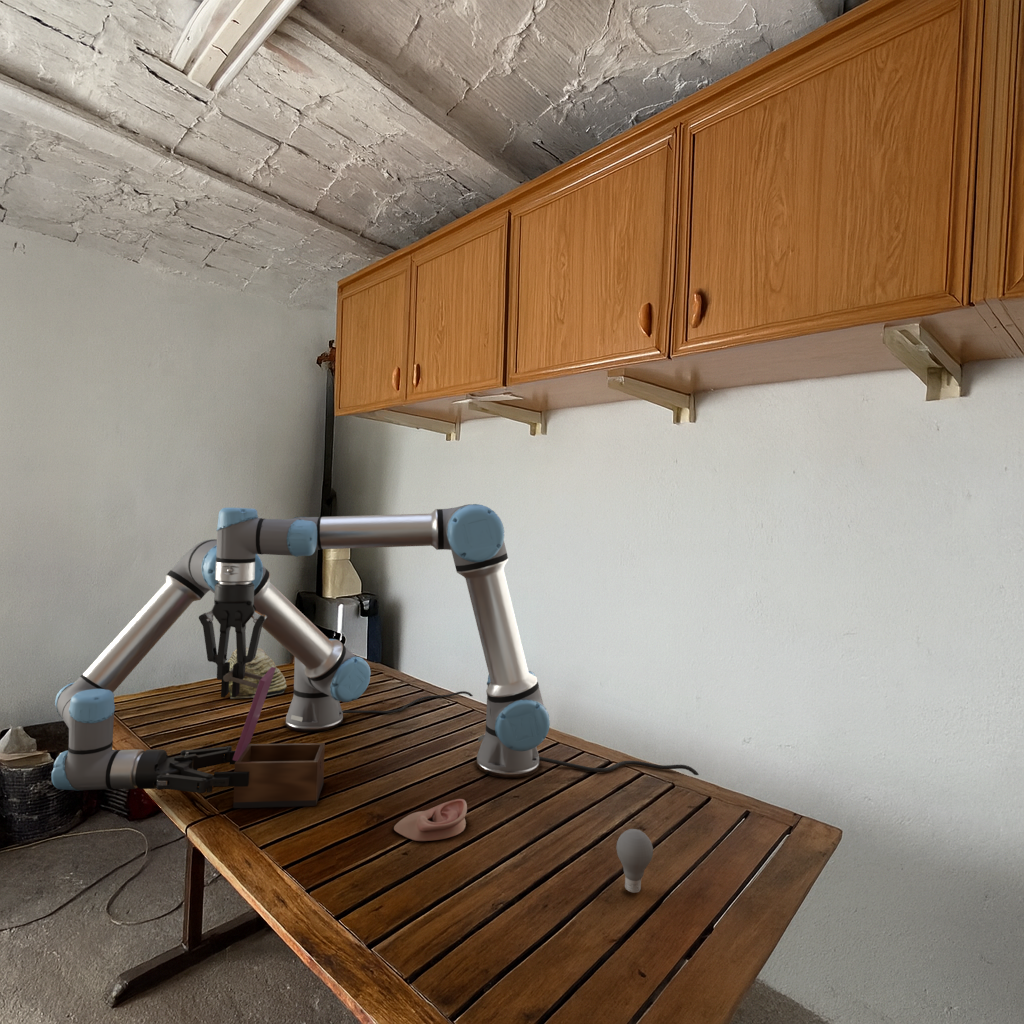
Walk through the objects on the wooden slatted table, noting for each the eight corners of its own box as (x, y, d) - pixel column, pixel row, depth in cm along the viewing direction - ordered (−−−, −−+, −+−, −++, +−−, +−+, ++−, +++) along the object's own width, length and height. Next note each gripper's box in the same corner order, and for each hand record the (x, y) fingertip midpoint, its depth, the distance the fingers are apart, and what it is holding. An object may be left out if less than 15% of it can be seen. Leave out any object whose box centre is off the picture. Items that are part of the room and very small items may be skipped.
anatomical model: (388, 815, 119) (410, 788, 130) (387, 836, 119) (409, 808, 130) (456, 826, 116) (472, 797, 127) (455, 847, 116) (471, 817, 128)
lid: (276, 667, 138) (238, 657, 136) (264, 681, 128) (223, 669, 126) (250, 742, 137) (212, 731, 136) (237, 761, 127) (195, 750, 126)
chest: (323, 783, 140) (324, 743, 139) (315, 806, 130) (317, 761, 130) (246, 785, 137) (248, 744, 137) (233, 808, 127) (234, 763, 127)
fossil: (218, 695, 195) (220, 647, 195) (278, 685, 208) (279, 640, 207) (228, 703, 189) (230, 653, 188) (289, 692, 201) (290, 645, 201)
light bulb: (610, 879, 108) (613, 822, 108) (644, 879, 109) (647, 822, 109) (619, 902, 102) (622, 840, 102) (655, 901, 103) (658, 840, 103)
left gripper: (163, 764, 141) (267, 763, 144) (114, 814, 118) (239, 811, 122) (164, 730, 141) (268, 730, 144) (115, 774, 118) (240, 773, 121)
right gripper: (191, 583, 126) (186, 700, 127) (267, 585, 128) (262, 701, 129) (204, 578, 134) (199, 689, 134) (275, 580, 136) (270, 689, 136)
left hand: (255, 767), depth 133 cm, fingers closed on chest, 10 cm apart
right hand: (230, 694), depth 132 cm, fingers closed on lid, 1 cm apart
